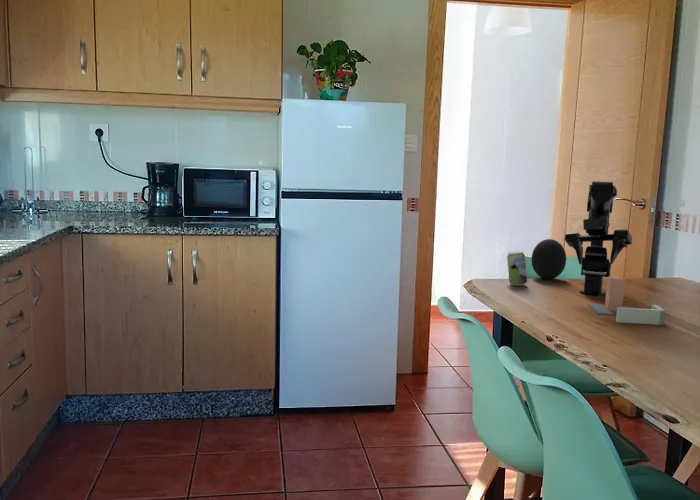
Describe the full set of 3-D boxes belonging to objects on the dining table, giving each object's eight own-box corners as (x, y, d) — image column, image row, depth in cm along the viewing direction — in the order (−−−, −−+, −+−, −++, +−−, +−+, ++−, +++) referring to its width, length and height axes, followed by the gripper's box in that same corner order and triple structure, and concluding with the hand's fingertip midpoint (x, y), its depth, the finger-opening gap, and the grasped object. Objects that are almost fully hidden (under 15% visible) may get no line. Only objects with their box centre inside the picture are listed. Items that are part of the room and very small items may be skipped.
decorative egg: (530, 280, 226) (533, 240, 224) (529, 274, 238) (532, 236, 236) (565, 283, 223) (569, 242, 221) (563, 277, 235) (566, 238, 233)
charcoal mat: (587, 304, 190) (587, 303, 190) (628, 306, 189) (628, 305, 189) (597, 314, 178) (597, 313, 178) (641, 316, 177) (641, 315, 177)
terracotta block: (604, 307, 186) (607, 276, 184) (618, 308, 185) (621, 277, 184) (608, 310, 182) (610, 278, 181) (622, 311, 182) (625, 279, 180)
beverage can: (527, 287, 214) (530, 253, 212) (505, 286, 215) (508, 252, 213) (526, 284, 220) (528, 250, 218) (505, 282, 221) (507, 249, 220)
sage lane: (610, 316, 177) (611, 302, 176) (654, 318, 175) (656, 304, 174) (617, 322, 170) (618, 308, 169) (663, 324, 168) (665, 310, 168)
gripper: (561, 208, 193) (556, 254, 188) (624, 203, 181) (621, 252, 176) (572, 223, 201) (567, 268, 196) (633, 220, 189) (630, 267, 184)
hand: (595, 263), depth 188 cm, fingers open, 9 cm apart
